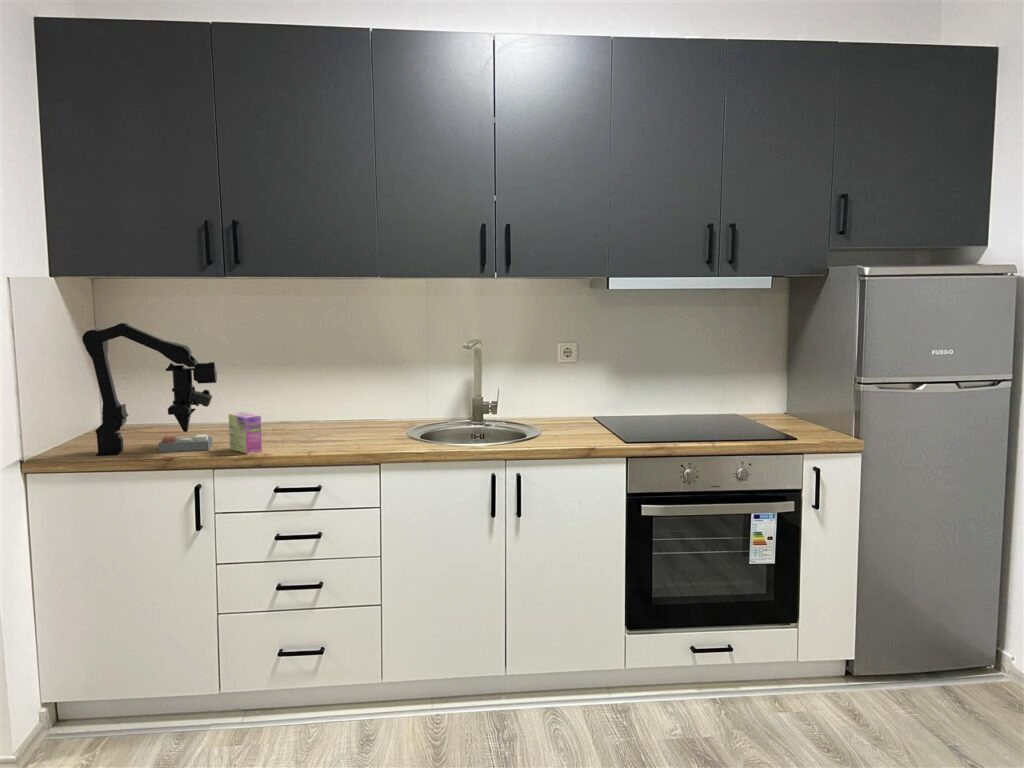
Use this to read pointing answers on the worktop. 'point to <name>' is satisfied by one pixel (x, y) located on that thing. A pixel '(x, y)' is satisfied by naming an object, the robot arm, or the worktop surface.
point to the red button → (169, 439)
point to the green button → (185, 439)
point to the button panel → (185, 445)
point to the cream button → (201, 437)
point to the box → (245, 432)
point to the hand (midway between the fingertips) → (185, 431)
